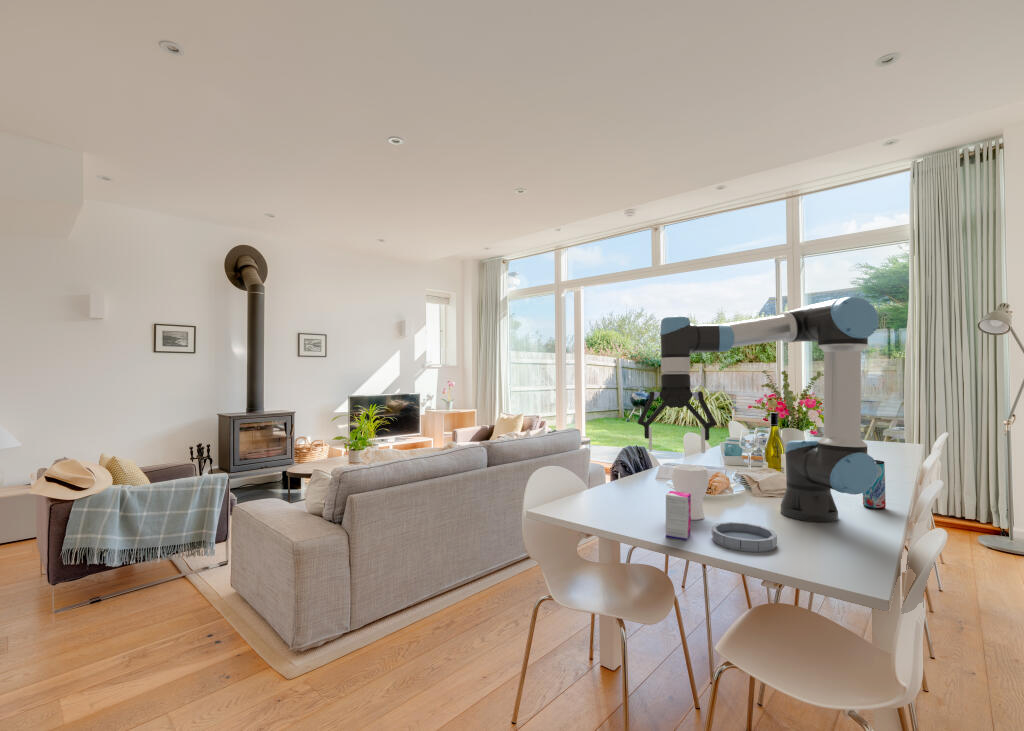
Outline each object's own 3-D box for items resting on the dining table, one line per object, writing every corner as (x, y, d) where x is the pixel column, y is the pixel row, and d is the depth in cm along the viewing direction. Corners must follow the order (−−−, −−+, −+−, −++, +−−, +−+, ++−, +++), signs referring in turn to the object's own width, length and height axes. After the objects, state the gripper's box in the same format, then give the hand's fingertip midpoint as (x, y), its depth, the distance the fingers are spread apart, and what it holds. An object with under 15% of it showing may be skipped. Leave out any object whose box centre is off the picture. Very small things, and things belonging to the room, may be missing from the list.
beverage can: (863, 508, 157) (862, 461, 157) (862, 504, 162) (861, 458, 162) (886, 511, 153) (885, 463, 154) (885, 506, 158) (883, 460, 159)
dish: (767, 534, 132) (767, 524, 132) (783, 554, 118) (783, 542, 118) (708, 530, 136) (708, 520, 136) (716, 549, 122) (716, 538, 122)
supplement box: (688, 541, 128) (687, 497, 128) (665, 537, 131) (664, 494, 131) (691, 534, 133) (691, 492, 133) (669, 531, 136) (668, 490, 136)
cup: (712, 522, 144) (711, 471, 144) (675, 520, 146) (674, 470, 146) (705, 512, 154) (705, 464, 155) (670, 510, 156) (670, 463, 157)
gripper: (722, 373, 133) (723, 451, 133) (628, 373, 140) (629, 447, 139) (727, 373, 126) (728, 455, 126) (628, 373, 133) (628, 451, 132)
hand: (676, 451), depth 133 cm, fingers open, 13 cm apart
